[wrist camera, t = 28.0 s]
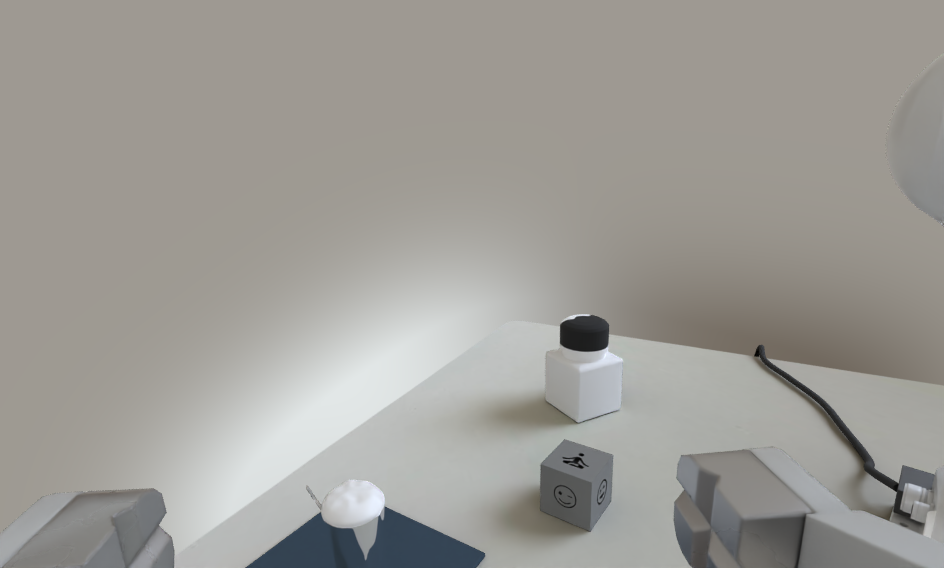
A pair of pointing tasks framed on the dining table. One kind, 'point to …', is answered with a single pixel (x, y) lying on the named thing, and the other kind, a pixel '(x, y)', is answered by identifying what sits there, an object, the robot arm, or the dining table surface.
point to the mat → (405, 547)
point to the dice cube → (576, 484)
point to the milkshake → (354, 524)
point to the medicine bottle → (583, 370)
